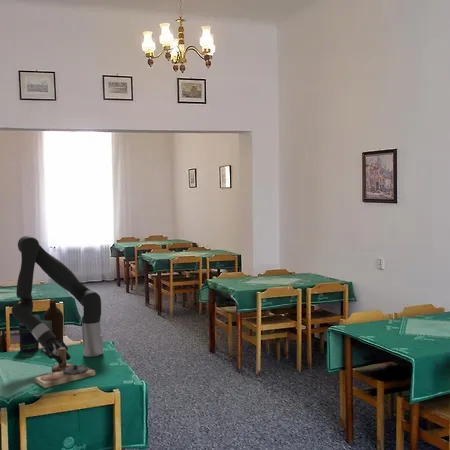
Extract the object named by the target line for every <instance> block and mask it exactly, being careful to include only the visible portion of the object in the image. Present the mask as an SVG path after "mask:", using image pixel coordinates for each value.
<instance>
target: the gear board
mask: <svg viewBox="0 0 450 450" xmlns="http://www.w3.org/2000/svg"><path fill="white" fill-rule="evenodd" d="M73 365H74V364H73ZM92 376H93V377H94V376H96V370H94V369H92V368H90V367H88V366H86V365H78V364H75V365H74V366H70V367H69V368H65V370H63V371H60V372H52V373H47V374H44V375H38V376H35V377H34V383H35V384H37V385H39V386H40V387H42V388H44V389H46V388H51V387H55V386H58V385H62V384H66V383H70V382H73V381H77V380H82V379H85V378H89V377H92Z"/></svg>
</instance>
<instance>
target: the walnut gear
mask: <svg viewBox="0 0 450 450" xmlns="http://www.w3.org/2000/svg"><path fill="white" fill-rule="evenodd" d="M57 354H58V355H57V356H59V357H60V358H61V359H62V360H63V362H62V363H61V364H59V363H57V364H54V365H53V366H52V367H51V371H52V373H56V372H60V371H63V370H65V368H69V367H70V366H74V364H73V363H69V362H67V359H66V348H65V347H64V348H59V349H58V352H57Z"/></svg>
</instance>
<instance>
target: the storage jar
mask: <svg viewBox="0 0 450 450" xmlns="http://www.w3.org/2000/svg"><path fill="white" fill-rule="evenodd" d="M18 334H19V352H20V353H23V354H25V353H26V354H29V353H30V354H31V353H35V352H37V351H39V350H40V346H39V345H40V343H39V342H38V341H37V340H36V338H35V337H34V336H33V334H32V333H31V332H30V330H29V329H28V328H27V327H26V326H25V325H23V324H22V323H21V322H19V323H18Z"/></svg>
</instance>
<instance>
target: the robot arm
mask: <svg viewBox="0 0 450 450" xmlns="http://www.w3.org/2000/svg"><path fill="white" fill-rule="evenodd" d="M17 248H18V251H19V252H20V253H21V264H20V270H19V273H18V277H17V283H16V293H15V294H16V297H17V298H19V299H20V303H16V304H14V305H12V307H11V314H12V316H13V317H14V319H16V320H17V321H18V322H19V323H22V324H23V325H25V326H26V327H27V328H28V329H29V330H30V332H31V333H32V334H33V336H34V337H35V338H36V340H37V341H38V342H39V345H40V346H41V347H43V349H41V351H42V353H43V354H44V355H45V356H46V357H48V358H49V359H50V360H52V359H53V360H55V361H56V362H57V364H61V363H62V362H63V360H62V359H61V358H60V357H59V356H58V349H59V348H66V361H70V359H72V358H71V355H70V354H69V353H68V350H69V348H68V346H67V345H66V343H65V342H64V339H63V340H61V341H57V340H56V339H55V335H54V334H53V333H52V332H51V330H50V329H49V328H48V327H47V326H46V325H45V324H44V321H43V320H41V319H40V317H39V316H38V315H34V314H32V312H33V310H34V302H33V297H32V294H33V292H32V291H33V285H34V284H33V283H34V270H35V265H36V264H37V266H39V268H40V269H41V270H42V271H43V272H44V273H45V274H46V275H47V276H48V277H49V278H51V279H50V280H52V281H54V282H55V284H57V285H58V286H60V287H61V288H63V290H65V291H67V292H69V294H71V295H72V296H73V297H74V298H75V299H76V300H77V302H78V303H79V304H80V305H81V306H82V307H83V315H82V316H81V324H82V325H81V330H82V353H83V354H82V355H83V356H84V357H85V358H86V357H87V358H90V357H98V356H100V355H103V354H104V341H103V335H102V333H101V332H102V331H101V316H102V300H101V296H100V294H99V293H98V292H96V291H94V290H92V289H89V288H88V287H87V286H86V285H84V284H83V283H82V282H81V281H80V280H79V279H78V278H77V277H76V275H75V274H74V272H73V271H71V269H70V268H69V267H67V266H66V265H65V264H64V263H63V262H62V261H60V260H59V259H58V258H56V257H55V256H53V255H52V254H50V253H48V252H47V251H46V250H45V249H44V248H43V247H42V246H41V244H40V242H39V241H38V239H37V238H35V237H34V236H31V235H24V236H22V237H20V238H19V239H18V241H17Z"/></svg>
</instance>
